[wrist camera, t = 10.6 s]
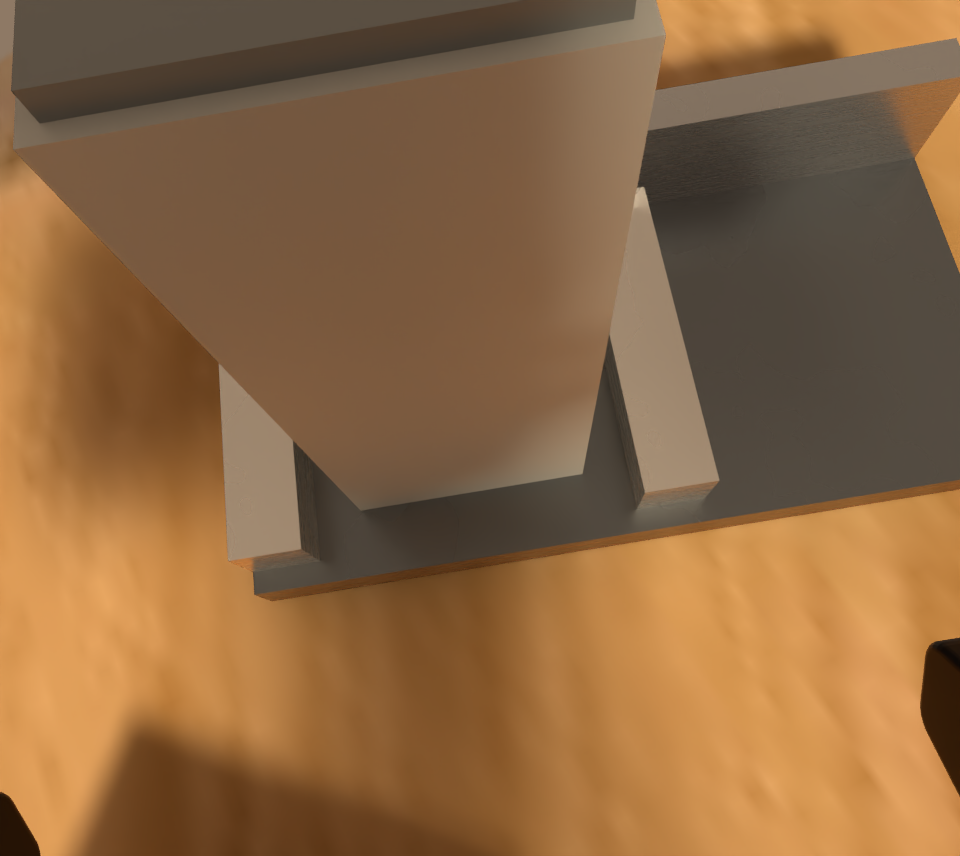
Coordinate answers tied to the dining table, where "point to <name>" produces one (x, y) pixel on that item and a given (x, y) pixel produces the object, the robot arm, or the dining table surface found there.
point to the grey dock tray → (699, 346)
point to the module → (364, 208)
